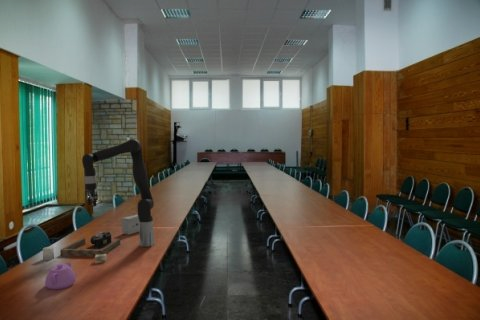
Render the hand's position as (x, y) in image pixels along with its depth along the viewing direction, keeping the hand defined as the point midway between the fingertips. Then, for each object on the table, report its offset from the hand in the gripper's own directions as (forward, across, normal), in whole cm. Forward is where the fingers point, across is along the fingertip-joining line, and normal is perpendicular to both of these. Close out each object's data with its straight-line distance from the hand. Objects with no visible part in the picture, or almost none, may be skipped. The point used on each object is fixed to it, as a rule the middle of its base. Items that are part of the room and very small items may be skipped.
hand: (92, 205), depth 236 cm
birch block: (+30, -33, +11) cm, 46 cm away
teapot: (+30, -51, +39) cm, 71 cm away
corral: (+29, -7, +5) cm, 30 cm away
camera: (+29, -1, -3) cm, 29 cm away
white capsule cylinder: (+28, -5, +31) cm, 42 cm away
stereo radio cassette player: (+29, +13, -39) cm, 51 cm away
